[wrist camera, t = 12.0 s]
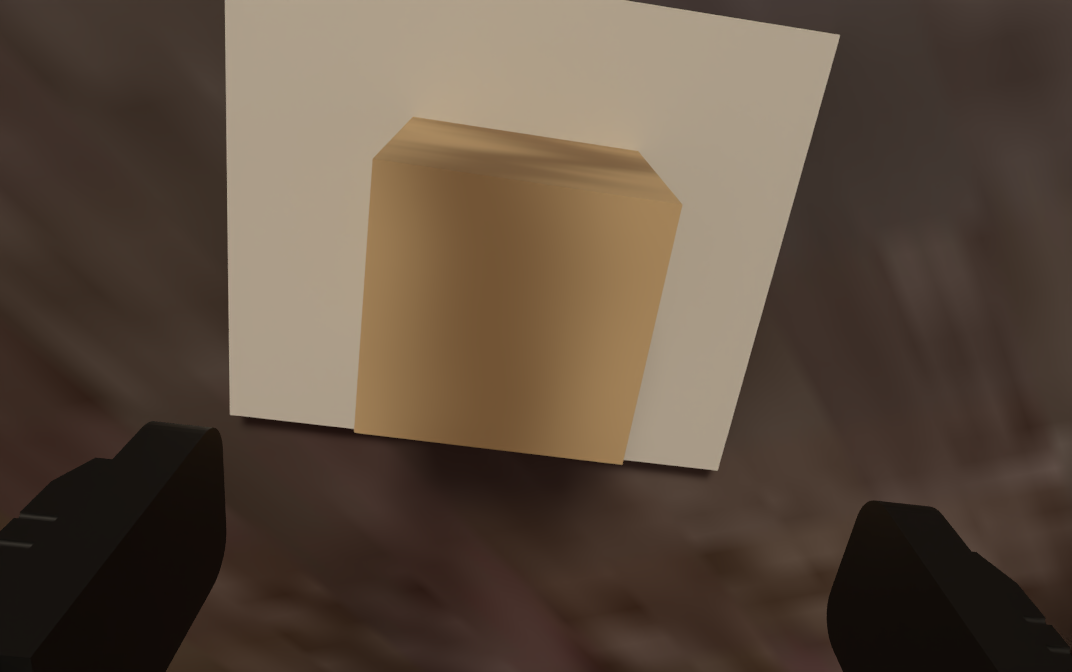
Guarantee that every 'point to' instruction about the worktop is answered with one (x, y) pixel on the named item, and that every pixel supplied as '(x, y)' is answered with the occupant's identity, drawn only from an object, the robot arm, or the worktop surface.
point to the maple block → (510, 290)
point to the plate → (524, 107)
